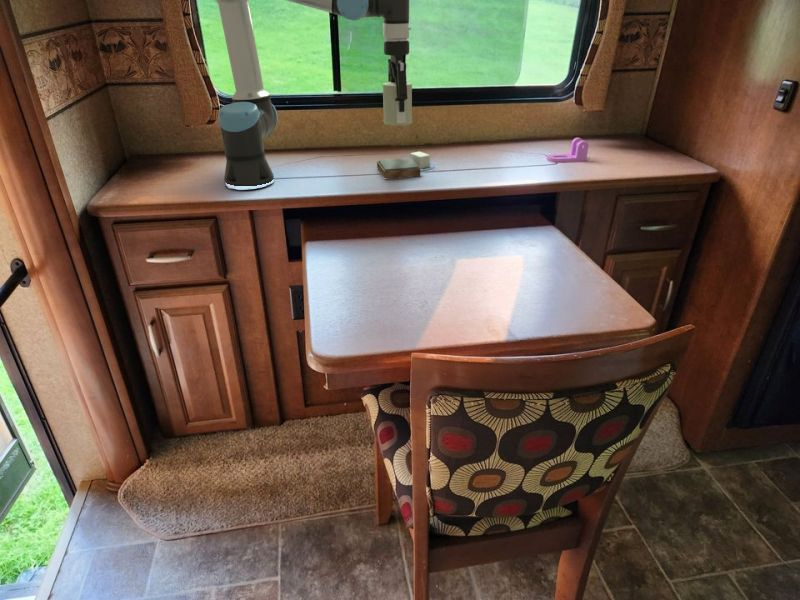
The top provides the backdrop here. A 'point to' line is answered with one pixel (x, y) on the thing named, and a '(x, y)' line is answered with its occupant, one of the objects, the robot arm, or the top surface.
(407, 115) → the can
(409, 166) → the stand
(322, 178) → the top surface
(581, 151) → the bracket
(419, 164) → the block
